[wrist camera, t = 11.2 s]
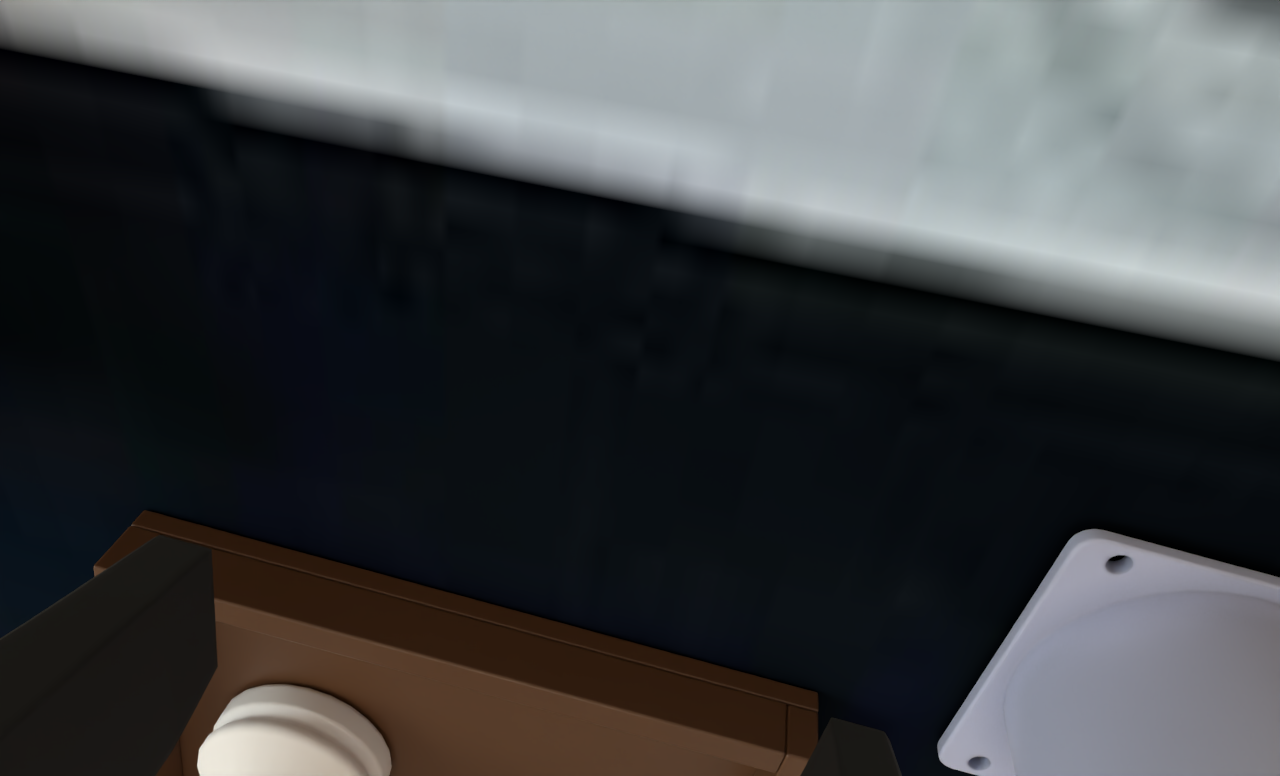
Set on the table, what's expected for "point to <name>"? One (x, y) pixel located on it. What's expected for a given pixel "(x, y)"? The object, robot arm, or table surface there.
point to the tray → (474, 675)
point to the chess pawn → (292, 737)
